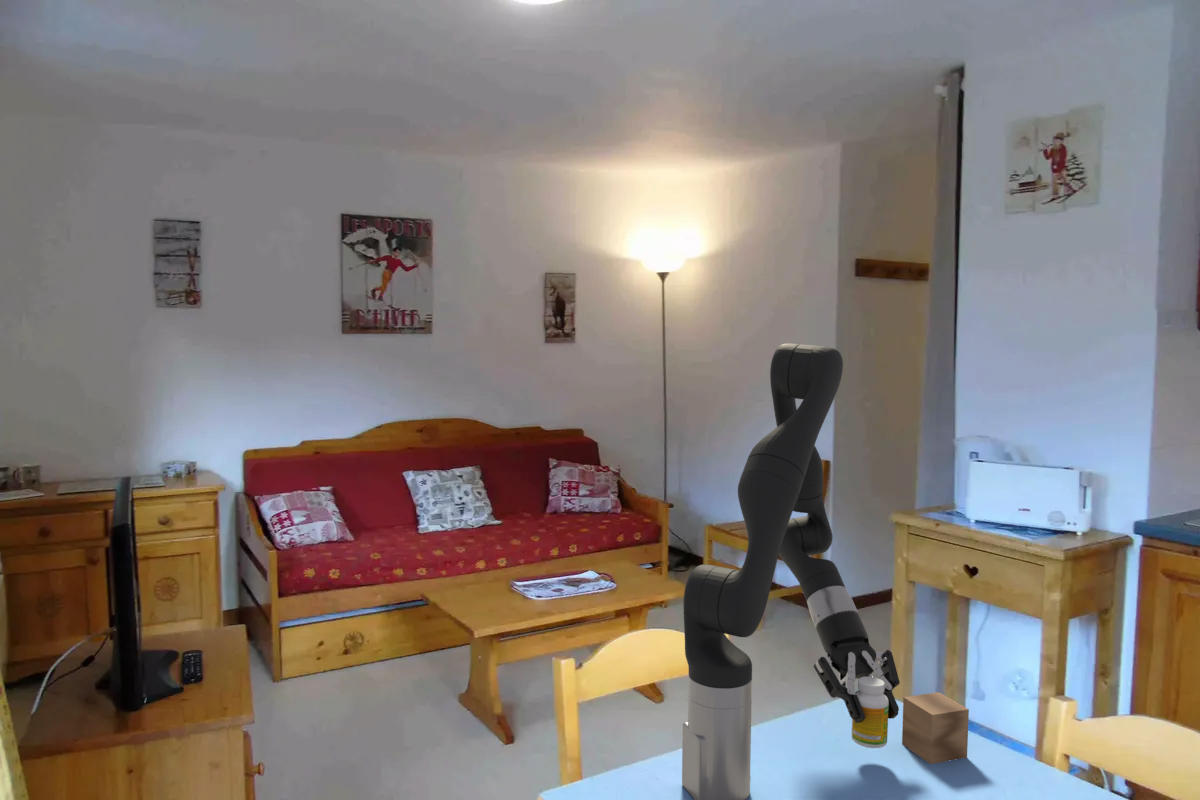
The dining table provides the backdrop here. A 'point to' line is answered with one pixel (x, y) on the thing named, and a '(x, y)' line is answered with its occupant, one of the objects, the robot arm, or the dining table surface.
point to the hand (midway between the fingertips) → (877, 718)
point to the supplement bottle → (871, 714)
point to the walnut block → (935, 727)
